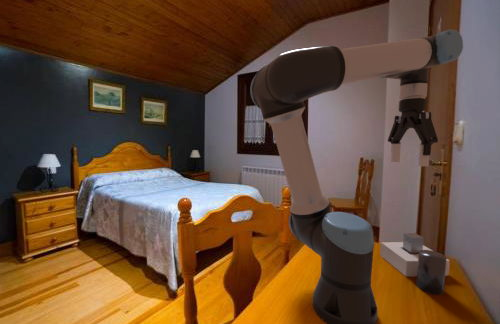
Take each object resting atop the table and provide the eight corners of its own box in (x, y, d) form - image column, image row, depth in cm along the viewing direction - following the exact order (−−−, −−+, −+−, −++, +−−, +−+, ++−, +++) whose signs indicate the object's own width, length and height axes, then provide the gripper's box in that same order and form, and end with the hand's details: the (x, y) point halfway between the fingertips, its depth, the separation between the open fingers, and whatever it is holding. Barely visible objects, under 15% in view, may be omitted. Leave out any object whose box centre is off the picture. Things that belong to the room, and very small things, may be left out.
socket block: (405, 276, 77) (406, 261, 77) (380, 255, 91) (380, 242, 91) (448, 275, 78) (449, 260, 77) (416, 254, 92) (417, 241, 91)
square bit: (409, 266, 82) (412, 237, 81) (401, 260, 86) (403, 233, 85) (421, 266, 83) (423, 237, 82) (412, 260, 87) (414, 233, 86)
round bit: (427, 295, 68) (430, 260, 67) (411, 281, 74) (413, 249, 74) (449, 294, 68) (452, 260, 67) (431, 281, 75) (434, 249, 74)
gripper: (457, 92, 68) (451, 168, 70) (398, 104, 93) (395, 160, 95) (431, 91, 68) (425, 168, 70) (379, 104, 92) (376, 160, 94)
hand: (408, 164), depth 82 cm, fingers open, 13 cm apart
